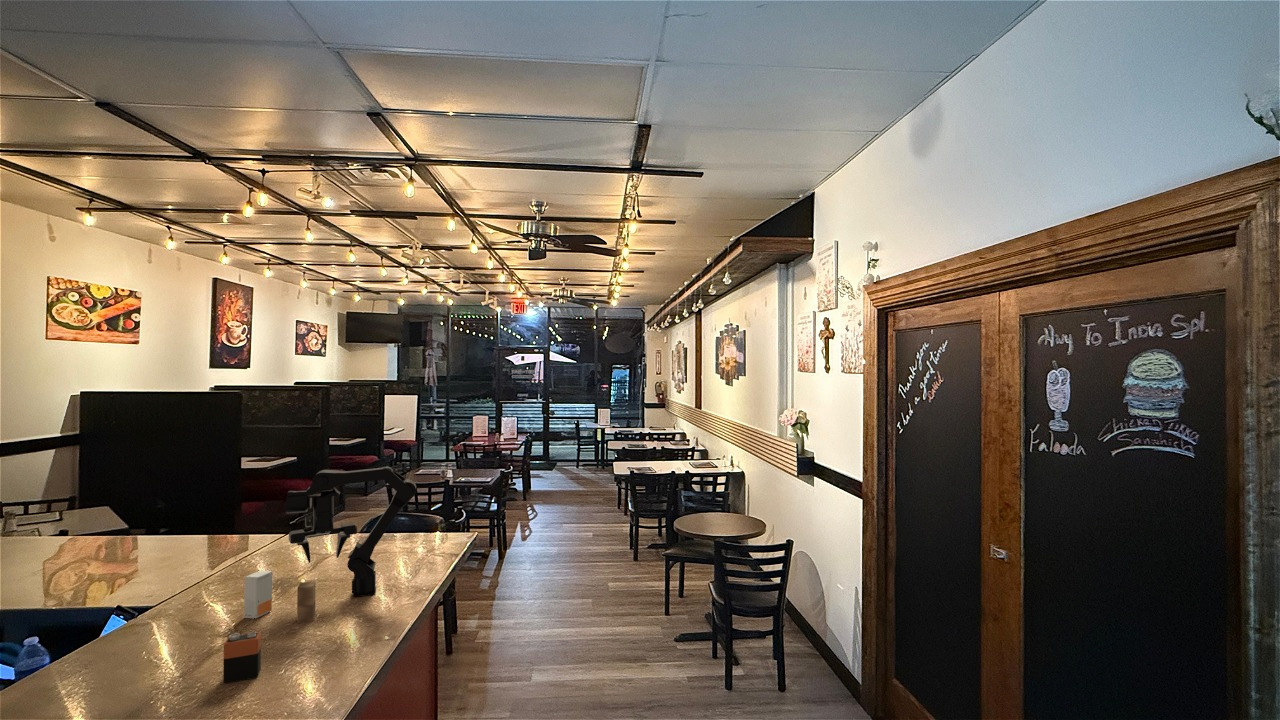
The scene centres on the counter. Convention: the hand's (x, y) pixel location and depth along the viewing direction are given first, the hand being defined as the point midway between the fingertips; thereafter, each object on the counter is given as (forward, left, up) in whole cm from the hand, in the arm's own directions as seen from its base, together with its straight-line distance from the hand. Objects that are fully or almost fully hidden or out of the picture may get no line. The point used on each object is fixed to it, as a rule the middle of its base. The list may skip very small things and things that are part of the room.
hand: (323, 559), depth 189 cm
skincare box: (+16, +8, -12) cm, 22 cm away
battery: (+10, +49, -12) cm, 51 cm away
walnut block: (+2, +17, -12) cm, 21 cm away
